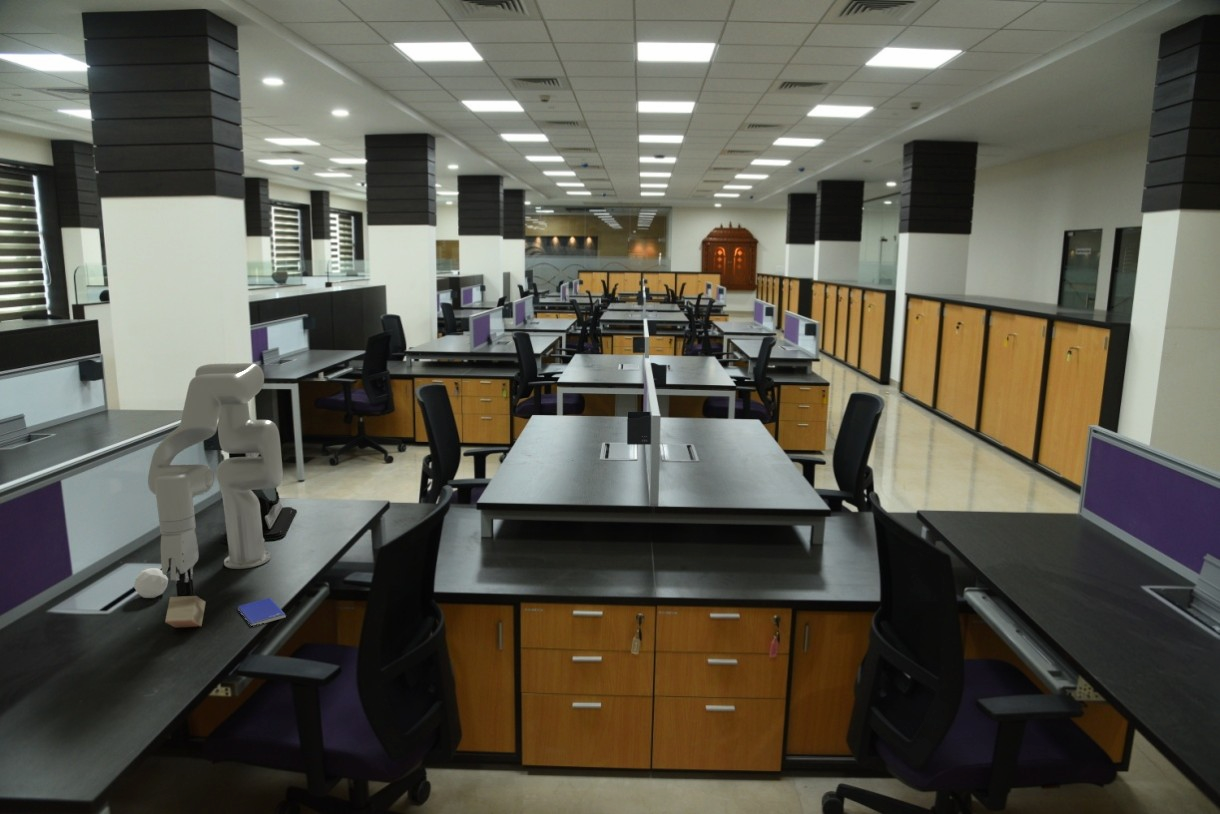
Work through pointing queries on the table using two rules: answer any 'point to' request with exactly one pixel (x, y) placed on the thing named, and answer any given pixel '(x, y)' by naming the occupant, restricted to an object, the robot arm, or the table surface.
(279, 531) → the award
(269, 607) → the hard drive
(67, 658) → the table surface
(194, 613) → the maple cube
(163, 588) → the geometric ball
